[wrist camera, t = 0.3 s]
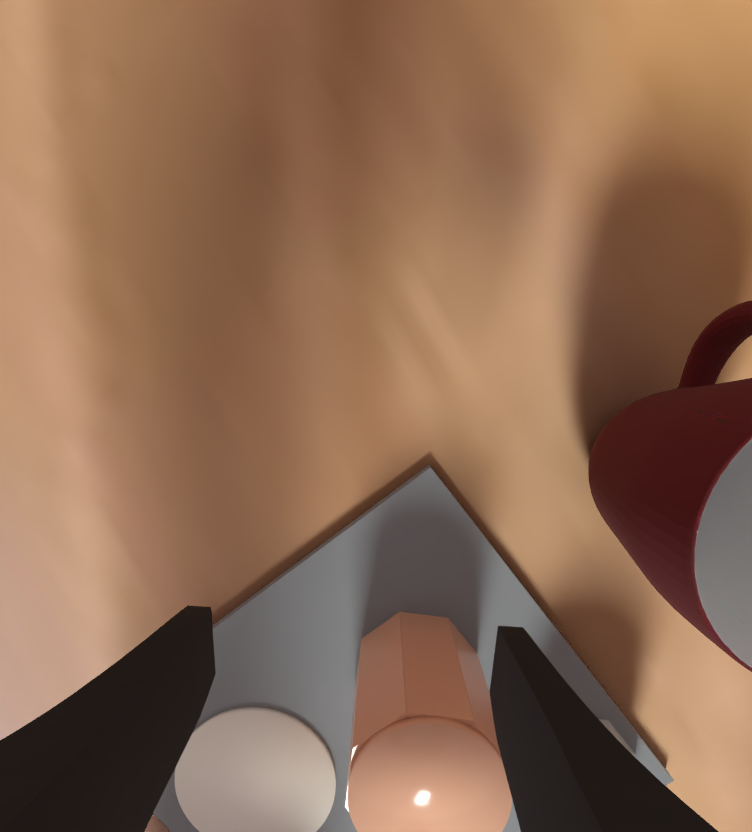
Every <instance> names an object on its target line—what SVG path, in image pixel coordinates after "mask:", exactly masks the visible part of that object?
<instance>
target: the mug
mask: <svg viewBox="0 0 752 832" xmlns="http://www.w3.org/2000/svg"><path fill="white" fill-rule="evenodd" d="M751 335H752V301H747V302H744V303H741V304H738V305H736V306H734V307H732V308H730V309H728V310H726V311H725V312H723V313H722V314H721V315H719V316H718V317H716V318H715V319H714V320H713V321H712V322H711V323H710V324H709V325H708V326H707V327H706V328H705V329H704V330H703V332H702V333H701V334H700V336H699V337H698V339H697V340H696V342H695V344H694V346H693V348H692V350H691V352H690V354H689V357H688V359H687V362H686V365H685V368H684V371H683V374H682V377H681V381H680V384H679V387H678V388H677V389H674V390H669V391H665V392H661V393H657V394H654V395H651V396H648V397H645V398H643V399H640V400H638V401H636V402H634V403H632V404H631V405H629V406H627V407H626V408H624V409H623V410H621V411H620V412H618V413H617V414H616V415H615V416H614V417H613V418H612V419H611V420H610V421H609V422H608V423H607V424H606V425H605V426H604V427H603V428H602V430H601V431H600V433H599V434H598V436H597V438H596V440H595V442H594V444H593V447H592V450H591V453H590V458H589V484H590V489H591V493H592V496H593V499H594V502H595V504H596V506H597V508H598V510H599V512H600V514H601V516H602V517H603V519H604V520H605V522H606V523H607V525H608V526H609V527H610V529H611V530H612V531H613V533H614V534H615V535H616V537H617V538H618V540H619V541H620V542H621V544H622V545H623V546H624V548H625V549H626V550H627V552H628V553H629V555H630V556H631V557H632V559H633V560H634V561H635V563H636V564H637V565H638V567H639V568H640V569H641V571H642V572H643V574H644V575H645V576H646V578H647V579H648V580H649V581H650V583H651V584H652V585H653V586H654V587H655V589H656V590H657V591H658V592H659V593H660V594H661V595H662V596H663V598H664V599H665V600H666V601H667V602H668V603H669V604H670V605H671V606H672V607H673V608H674V609H675V610H676V611H677V612H679V613H680V614H681V615H682V616H683V617H684V618H685V619H686V620H688V621H689V622H690V623H691V624H692V625H693V626H694V627H696V628H697V629H698V630H699V631H700V632H701V633H703V634H704V635H705V636H706V637H707V638H708V639H710V640H711V641H712V642H713V643H715V644H716V645H717V646H718V647H719V648H721V649H722V650H723V651H724V652H726V653H727V654H728V655H729V656H730V657H732V658H733V659H734V660H735V661H737V662H738V663H740V664H741V665H742V666H744V667H745V668H747V669H748V670H750V671H751V672H752V378H750V379H744V380H738V381H732V382H726V383H720V384H715V382H716V380H717V377H718V375H719V374H720V372H721V370H722V368H723V366H724V365H725V363H726V361H727V360H728V358H729V357H730V356H731V354H732V353H733V352H734V351H735V349H736V348H737V347H738V346H739V345H740V344H741V343H742V342H743V341H744V340H745V339H747V338H748V337H749V336H751Z"/></svg>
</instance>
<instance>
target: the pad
mask: <svg viewBox="0 0 752 832" xmlns="http://www.w3.org/2000/svg"><path fill="white" fill-rule="evenodd" d="M175 790H176V795H177V798H178V802H179V804H180V806H181V808H182V810H183V812H184V814H185V815H186V817H187V818H188V820H189V821H190V822H191V823H192V825H193V826H194V827H195V828H196V829H197V830H198V831H199V832H316V831H317V830H318V829H319V828H320V827H321V826H322V824H323V823H324V822H325V820H326V819H327V817H328V815H329V813H330V811H331V808H332V805H333V802H334V797H335V790H336V772H335V767H334V763H333V760H332V757H331V755H330V752H329V750H328V749H327V747H326V745H325V743H324V742H323V741H322V740H321V738H320V737H319V736H318V735H317V734H316V733H315V732H314V731H313V730H312V729H311V728H310V727H309V726H308V725H306V724H305V723H304V722H302V721H300V720H299V719H297V718H295V717H294V716H291V715H289V714H287V713H285V712H281V711H278V710H275V709H270V708H265V707H241V708H235V709H231V710H227V711H224V712H221V713H219V714H217V715H215V716H213V717H211V718H209V719H208V720H206V721H205V722H203V723H202V724H201V725H200V726H199V727H197V728H196V730H195V731H194V732H193V733H192V735H191V737H190V739H189V741H188V743H187V745H186V747H185V749H184V751H183V753H182V755H181V757H180V759H179V761H178V763H177V765H176V768H175Z"/></svg>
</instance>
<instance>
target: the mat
mask: <svg viewBox="0 0 752 832" xmlns="http://www.w3.org/2000/svg"><path fill="white" fill-rule="evenodd" d="M398 612H406V613H414V614H422V615H430V616H438V617H446V618H449V619H450V620H451V622H452V623H453V624H454V625H455V627H456V628H457V629H458V630H459V632H460V633H461V634H462V635H463V637H464V638H465V639H466V640H467V642H468V643H469V644H470V645H471V646H472V648H473V649H474V650H475V651H476V653H477V654H478V658H479V661H480V664H481V667H482V670H483V673H484V677H485V680H486V683H487V686H488V689H489V692H490V684H491V676H492V669H493V661H494V653H495V645H496V637H497V629H498V626H512V627H523V628H524V629H525V630H526V631H527V633H528V634H529V635H530V636H531V638H532V639H533V640H534V642H535V643H536V644H537V645H538V647H539V648H540V649H541V651H542V652H543V653H544V654H545V656H546V657H547V658H548V660H549V661H550V662H551V663H552V665H553V666H554V667H555V668H556V670H557V671H558V672H559V673H560V675H561V676H562V677H563V678H564V680H565V681H566V682H567V683H568V684H569V686H570V687H571V688H572V689H573V690H574V691H575V693H576V694H577V695H578V696H579V697H580V699H581V700H582V701H583V702H584V703H585V704H586V706H587V707H588V708H589V709H590V710H591V711H592V712H593V714H594V715H595V716H596V717H597V718H598V719H602V720H609V721H610V723H611V724H612V725H613V726H614V728H615V729H616V730H617V732H618V733H619V734H620V735H621V737H622V738H623V739H624V740H625V742H626V743H627V744H628V746H629V747H630V748H631V749H632V751H633V752H634V753H635V755H636V756H637V758H638V759H639V761H640V762H641V763H642V764H643V765H644V766H645V767H646V768H647V769H648V770H649V771H650V772H651V773H652V774H653V775H654V776H655V777H656V778H657V779H658V780H659V781H661V782H662V783H663V784H664V785H667V784H669V783H670V782H672V781H673V779H672V777H671V776H670V774H669V773H668V771H667V770H666V769H665V767H664V766H663V765H662V763H661V762H660V761H659V760H658V758H657V757H656V756H655V754H654V753H653V752H652V751H651V749H650V748H649V747H648V745H647V744H646V743H645V742H644V740H643V739H642V738H641V736H640V735H639V734H638V733H637V731H636V730H635V729H634V727H633V726H632V725H631V724H630V722H629V721H628V720H627V718H626V717H625V716H624V715H623V713H622V712H621V711H620V709H619V708H618V707H617V705H616V704H615V703H614V702H613V700H612V699H611V698H610V696H609V695H608V694H607V693H606V691H605V690H604V689H603V687H602V686H601V685H600V684H599V682H598V681H597V680H596V678H595V677H594V676H593V675H592V673H591V672H590V671H589V669H588V668H587V667H586V666H585V664H584V663H583V662H582V660H581V659H580V658H579V657H578V655H577V654H576V653H575V651H574V650H573V649H572V647H571V646H570V645H569V644H568V642H567V641H566V640H565V638H564V637H563V636H562V635H561V633H560V632H559V631H558V629H557V628H556V627H555V626H554V624H553V623H552V622H551V620H550V619H549V618H548V617H547V615H546V614H545V613H544V611H543V610H542V609H541V608H540V606H539V605H538V604H537V602H536V601H535V600H534V599H533V597H532V596H531V595H530V593H529V592H528V591H527V590H526V588H525V587H524V586H523V584H522V583H521V582H520V580H519V579H518V578H517V577H516V575H515V574H514V573H513V571H512V570H511V569H510V568H509V566H508V565H507V564H506V562H505V561H504V560H503V559H502V557H501V556H500V555H499V553H498V552H497V551H496V550H495V548H494V547H493V546H492V544H491V543H490V542H489V541H488V539H487V538H486V537H485V535H484V534H483V533H482V532H481V530H480V529H479V528H478V526H477V525H476V524H475V523H474V521H473V520H472V519H471V517H470V516H469V515H468V513H467V512H466V511H465V510H464V508H463V507H462V506H461V504H460V503H459V502H458V501H457V499H456V498H455V497H454V495H453V494H452V493H451V492H450V490H449V489H448V488H447V486H446V485H445V484H444V483H443V481H442V480H441V479H440V477H439V476H438V475H437V474H436V472H435V471H434V470H433V468H432V467H431V466H430V465H428V466H426V467H425V468H424V469H422V470H421V471H419V472H418V473H417V474H415V475H414V476H413V477H411V478H410V479H409V480H407V481H406V482H405V483H403V484H402V485H401V486H399V487H398V488H397V489H395V490H394V491H393V492H391V493H390V494H389V495H387V496H386V497H384V498H383V499H382V500H380V501H379V502H378V503H376V504H375V505H374V506H372V507H371V508H370V509H368V510H367V511H366V512H364V513H363V514H362V515H360V516H359V517H358V518H356V519H355V520H353V521H352V522H351V523H349V524H348V525H347V526H345V527H344V528H343V529H341V530H340V531H339V532H337V533H336V534H335V535H333V536H332V537H331V538H329V539H328V540H327V541H325V542H324V543H323V544H321V545H320V546H318V547H317V548H316V549H314V550H313V551H312V552H310V553H309V554H308V555H306V556H305V557H304V558H302V559H301V560H300V561H298V562H297V563H296V564H294V565H293V566H292V567H290V568H289V569H287V570H286V571H285V572H283V573H282V574H281V575H279V576H278V577H277V578H275V579H274V580H273V581H271V582H270V583H269V584H267V585H266V586H265V587H263V588H262V589H261V590H259V591H258V592H256V593H255V594H254V595H252V596H251V597H250V598H248V599H247V600H246V601H244V602H243V603H242V604H240V605H239V606H238V607H236V608H235V609H234V610H232V611H231V612H230V613H228V614H227V615H226V616H224V617H223V618H221V619H220V620H219V621H217V622H216V623H215V624H213V625H212V627H213V642H214V656H215V671H216V674H215V677H214V680H213V683H212V686H211V688H210V691H209V694H208V697H207V700H206V702H205V705H204V708H203V710H202V713H201V716H200V718H199V720H198V722H197V724H196V727H195V729H194V731H195V730H196V728H197V727H199V726H200V725H201V724H202V723H203V722H205V721H206V720H208V719H209V718H211V717H213V716H215V715H217V714H219V713H221V712H224V711H227V710H231V709H235V708H241V707H265V708H270V709H275V710H278V711H281V712H285V713H287V714H289V715H291V716H294V717H295V718H297V719H299V720H300V721H302V722H304V723H305V724H306V725H308V726H309V727H310V728H311V729H312V730H313V731H314V732H315V733H316V734H317V735H318V736H319V737H320V738H321V740H322V741H323V742H324V743H325V745H326V747H327V749H328V750H329V752H330V755H331V757H332V760H333V763H334V767H335V772H336V790H335V797H334V802H333V805H332V808H331V811H330V813H329V815H328V817H327V819H326V820H325V822H324V823H323V824H322V826H321V827H320V828H319V829H318V830H317V831H316V832H357V830H356V828H355V826H354V824H353V822H352V819H351V817H350V813H349V811H348V810H347V809H346V807H345V800H346V788H347V776H348V764H349V752H350V740H351V728H352V715H353V703H354V691H355V681H356V673H357V666H358V658H359V651H360V643H361V639H362V638H363V637H365V636H366V635H367V634H369V633H370V632H372V631H373V630H375V629H376V628H377V627H379V626H380V625H382V624H383V623H384V622H386V621H387V620H389V619H390V618H391V617H393V616H394V615H396V614H397V613H398ZM194 731H193V732H194ZM175 768H176V767H175ZM153 814H154V815H155V816H156V817H157V818H158V819H159V820H160V821H161V822H162V823H163V824H164V825H165V826H166V827H167V828H168V829H169V831H170V832H199V831H198V830H197V829H196V828H195V827H194V826H193V825H192V823H191V822H190V821H189V820H188V818H187V817H186V815H185V814H184V812H183V810H182V808H181V806H180V804H179V802H178V798H177V795H176V790H175V769H174V772H173V774H172V776H171V778H170V780H169V782H168V784H167V786H166V788H165V790H164V792H163V794H162V796H161V798H160V800H159V802H158V804H157V806H156V808H155V810H154V812H153ZM502 832H521V830H520V826H519V822H518V819H517V815H516V811H515V807H514V804H513V800H512V807H511V812H510V816H509V819H508V821H507V824H506V826H505V828H504V829H503V831H502Z"/></svg>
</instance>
